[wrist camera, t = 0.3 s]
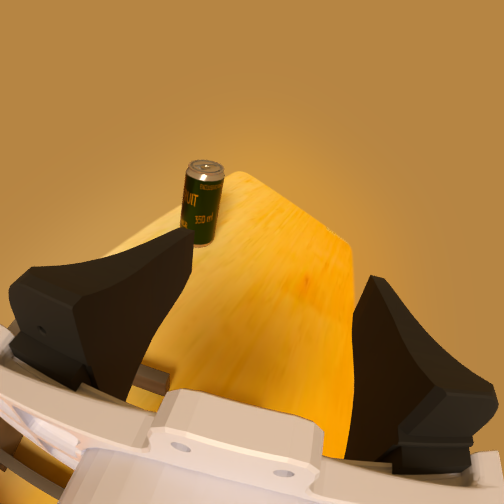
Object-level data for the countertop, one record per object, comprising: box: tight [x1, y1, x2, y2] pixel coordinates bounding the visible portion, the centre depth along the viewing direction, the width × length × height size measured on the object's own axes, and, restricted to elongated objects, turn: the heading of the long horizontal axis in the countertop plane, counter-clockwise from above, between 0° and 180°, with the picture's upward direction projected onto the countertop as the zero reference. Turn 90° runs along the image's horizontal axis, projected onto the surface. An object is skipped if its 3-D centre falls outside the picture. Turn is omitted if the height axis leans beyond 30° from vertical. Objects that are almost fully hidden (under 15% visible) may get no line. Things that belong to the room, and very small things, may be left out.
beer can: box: [180, 160, 225, 248], centre depth 46 cm, size 5×5×12 cm
